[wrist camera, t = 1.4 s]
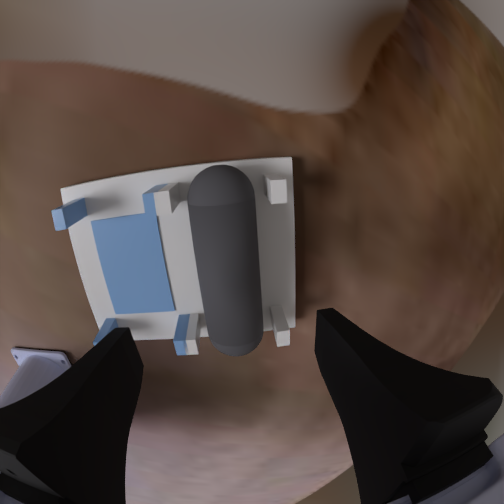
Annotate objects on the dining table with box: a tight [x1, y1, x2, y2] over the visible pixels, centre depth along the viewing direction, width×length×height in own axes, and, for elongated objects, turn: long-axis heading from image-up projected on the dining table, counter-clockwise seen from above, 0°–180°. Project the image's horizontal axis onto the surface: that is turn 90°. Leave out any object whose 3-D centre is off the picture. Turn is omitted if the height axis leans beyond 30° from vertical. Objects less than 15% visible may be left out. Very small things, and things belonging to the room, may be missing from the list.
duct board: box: [52, 157, 295, 355], centre depth 17 cm, size 12×15×4 cm
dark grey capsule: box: [187, 165, 264, 356], centre depth 17 cm, size 12×4×4 cm, turn 4°
